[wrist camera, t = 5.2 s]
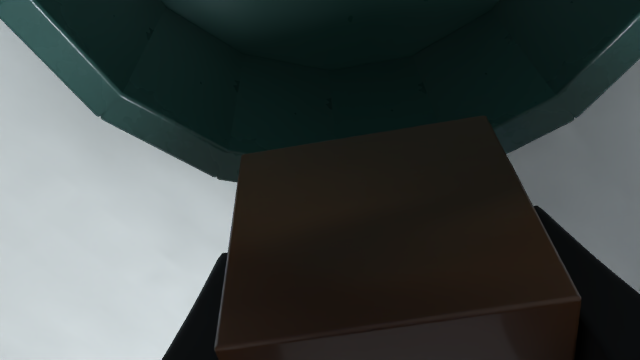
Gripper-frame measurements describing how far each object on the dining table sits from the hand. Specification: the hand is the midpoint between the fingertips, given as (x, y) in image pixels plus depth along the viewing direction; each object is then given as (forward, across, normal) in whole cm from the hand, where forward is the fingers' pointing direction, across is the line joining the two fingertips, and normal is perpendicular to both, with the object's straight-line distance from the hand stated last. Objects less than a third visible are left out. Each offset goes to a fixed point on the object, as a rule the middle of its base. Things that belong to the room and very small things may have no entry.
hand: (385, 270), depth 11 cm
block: (+1, 0, 0) cm, 1 cm away
